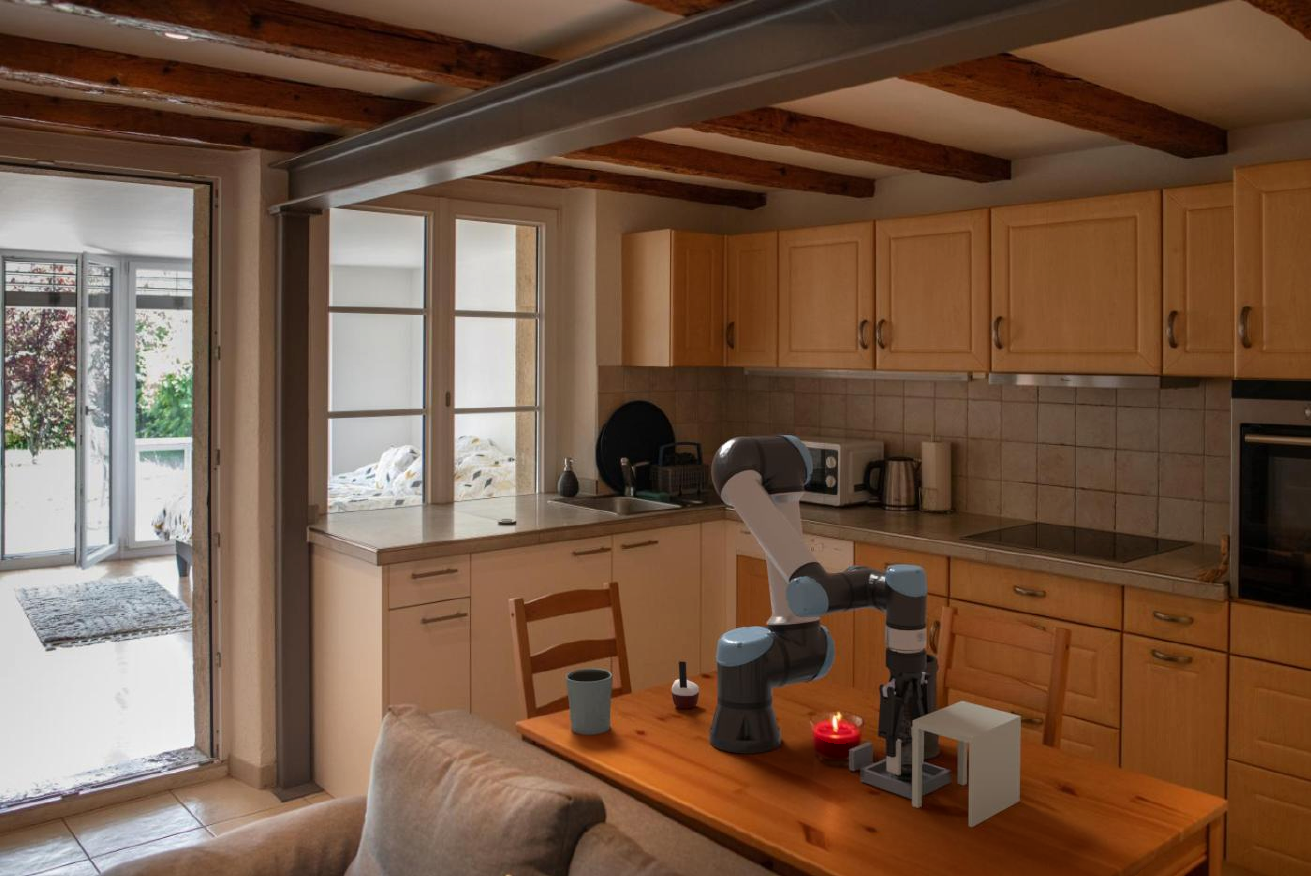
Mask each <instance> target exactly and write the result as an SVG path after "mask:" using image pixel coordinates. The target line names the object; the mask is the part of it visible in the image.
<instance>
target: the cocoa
mask: <svg viewBox="0 0 1311 876" xmlns="http://www.w3.org/2000/svg"><path fill="white" fill-rule="evenodd" d="M687 678H688V677H687V662H686V661H680V660H679V661H678V679H675V680H674V682H673V684H672V686H671V697H672V701H673V704H674V705H675V707H676V708H678V709H680V710H690V708H691V709H693V708H695V706H697V704H698V701H699V696H700V695H699V694H700V692H699V691H700V687H699V686H698V684H696V683H694V682H693V681H691V680H689V679H687Z"/></svg>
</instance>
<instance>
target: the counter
mask: <svg viewBox="0 0 1311 876" xmlns="http://www.w3.org/2000/svg"><path fill="white" fill-rule="evenodd" d="M1021 718H1022V717H1021V715H1017V714H1013V713H1010V712H1006V711H1002V710H998V709H995V708H991V707H987V706H985V705H980V704H976V703H971V702H968V701H964V700H960V701H958V702H956V703H955V702H954V703H953V704H950V705H948V706H946V707H943V708H940V709H937V711H935V712H932V713H930V714H927V715H925V716H922V717H920V718H917V719H915V720H913V735H912V799H911V806H912V807H914V808H918V809H919V808H920V807H922V801H923V800H922V799H923V796H922V730H925V731H928V732H931V733H935V734H938V735H939V736H942V737H946V738H948V739H949V738H950V739H953V740H955V741H957V784H958V785H961V786H965V785H967V778H968V827H969V828H974V827H975V826H976V825H977V826H978V824H980V823H982V822H984V821H986V820H987V819H989V818H992V817H993V816H995V815H996V814H999V813H1000V812H1002V811H1004V810H1006V809H1008V808H1009V807H1011V806H1013V805H1015V804H1017V803H1019V802H1020V800H1021V799H1020V796H1021V795H1020V793H1021V792H1020V791H1021V789H1020V788H1021V785H1020V784H1021V731H1022V730H1021V729H1022V728H1021V726H1022V725H1021V724H1022V723H1021V722H1022V721H1021V720H1022V719H1021ZM968 745H969V746H968ZM968 748H969V749H968ZM968 751H969V752H968ZM968 754H969V755H968ZM968 757H969V758H968ZM967 760H968V761H967ZM967 767H968V768H967ZM967 769H968V770H967ZM967 772H968V773H967Z"/></svg>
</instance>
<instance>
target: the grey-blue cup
mask: <svg viewBox="0 0 1311 876" xmlns="http://www.w3.org/2000/svg"><path fill="white" fill-rule="evenodd" d="M565 683H566V688H567V689H566V690H567V696H568V697H567V698H568V706H569V710H570V711H569V716H570V726H571V731H573V732H574V733H576V734H579V735H583V736H584V735H587V736H592V735H594V736H595V735H599V734H600V735H601V734H603V733H607V732H608V731H609V730H610V728H611V708H612V699H611V698H612V696H611V695H612V689H613V688H612V684H613V673H612V672H611V671H609V670H607V669H603V668H581V669H577V670H572V671H570V672H568V673H567V674H566V676H565Z"/></svg>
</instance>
